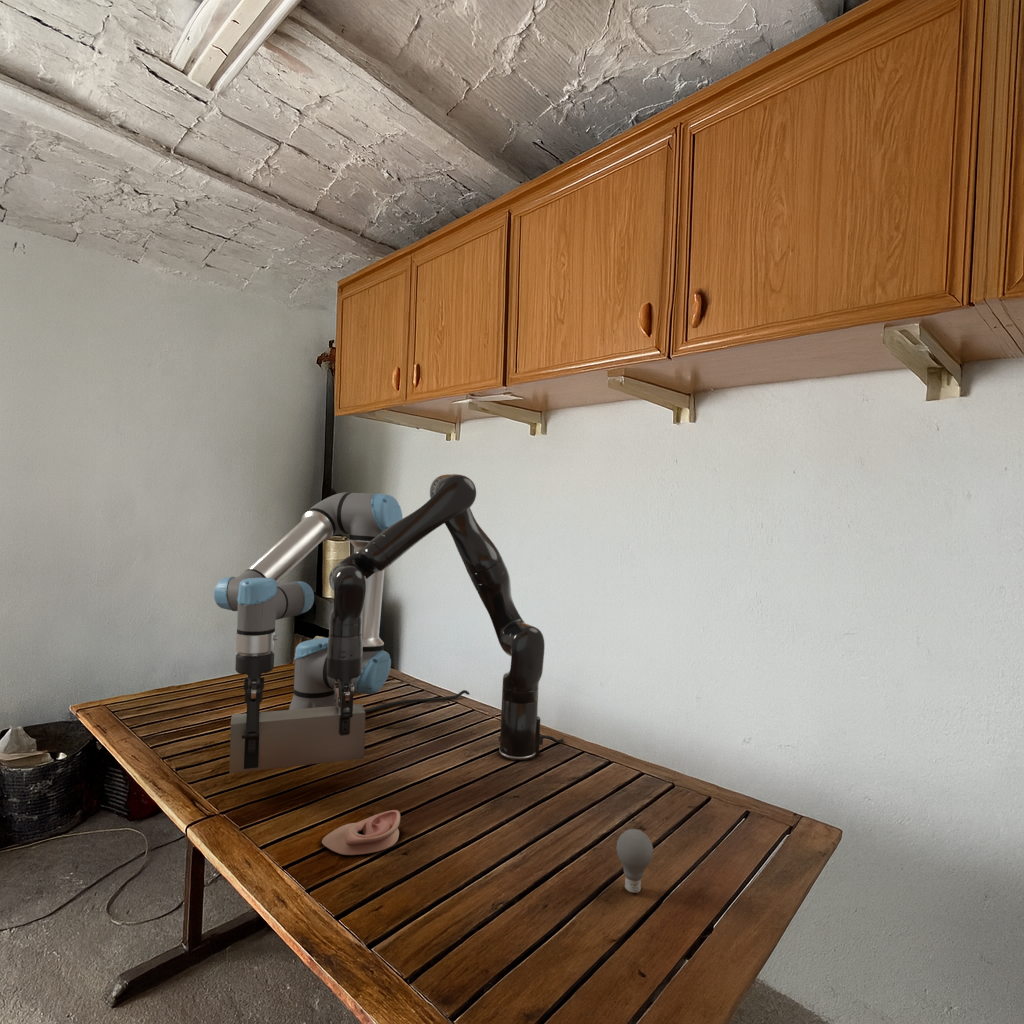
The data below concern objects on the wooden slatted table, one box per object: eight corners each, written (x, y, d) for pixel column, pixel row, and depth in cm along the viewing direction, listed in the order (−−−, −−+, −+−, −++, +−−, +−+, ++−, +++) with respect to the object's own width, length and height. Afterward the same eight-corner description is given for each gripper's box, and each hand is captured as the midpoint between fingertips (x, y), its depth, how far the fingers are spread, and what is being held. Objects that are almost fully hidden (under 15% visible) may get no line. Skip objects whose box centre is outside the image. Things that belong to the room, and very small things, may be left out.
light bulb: (610, 879, 108) (613, 822, 108) (644, 879, 109) (647, 822, 109) (619, 902, 102) (622, 840, 102) (655, 901, 103) (658, 840, 103)
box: (229, 773, 129) (230, 724, 129) (230, 761, 135) (232, 714, 135) (364, 758, 139) (365, 712, 139) (360, 747, 145) (361, 703, 145)
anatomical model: (313, 828, 113) (343, 799, 125) (313, 850, 113) (342, 819, 125) (383, 839, 111) (407, 808, 122) (382, 862, 111) (406, 829, 122)
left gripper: (275, 662, 126) (270, 778, 126) (273, 641, 143) (270, 742, 144) (233, 664, 123) (229, 782, 123) (237, 642, 141) (234, 745, 141)
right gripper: (367, 661, 135) (364, 739, 135) (357, 645, 148) (355, 717, 148) (330, 663, 132) (327, 743, 132) (324, 647, 145) (322, 720, 146)
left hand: (251, 760), depth 134 cm, fingers closed on box, 6 cm apart
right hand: (342, 729), depth 140 cm, fingers closed on box, 6 cm apart
